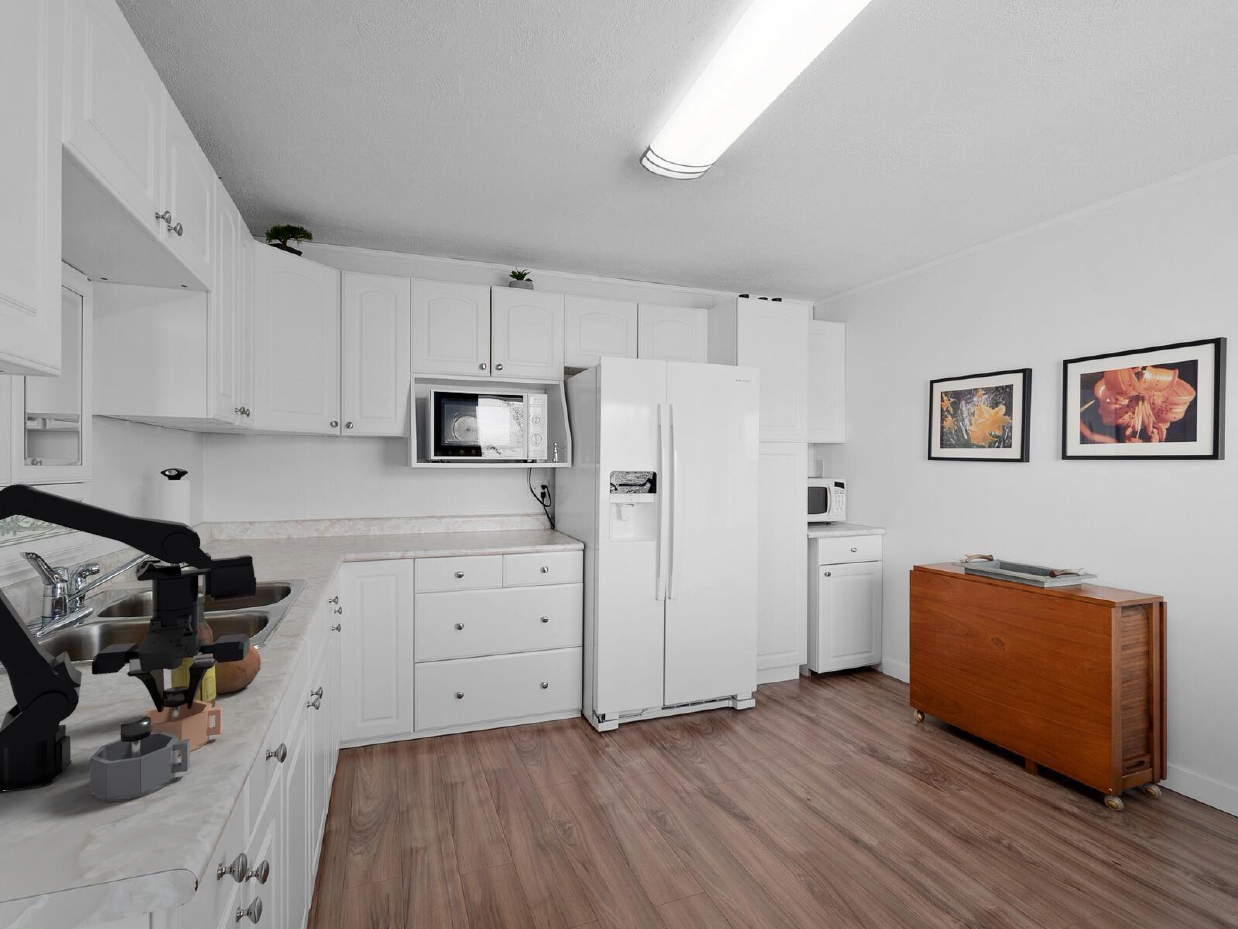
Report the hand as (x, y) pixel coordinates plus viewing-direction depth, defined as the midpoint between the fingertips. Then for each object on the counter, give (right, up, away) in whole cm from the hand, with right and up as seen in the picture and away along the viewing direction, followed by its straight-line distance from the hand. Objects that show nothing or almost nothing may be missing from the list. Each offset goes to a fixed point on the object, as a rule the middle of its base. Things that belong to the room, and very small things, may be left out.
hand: (175, 709), depth 94 cm
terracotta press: (0, -5, 0) cm, 5 cm away
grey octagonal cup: (+3, -5, -11) cm, 13 cm away
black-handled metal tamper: (0, -5, 0) cm, 4 cm away
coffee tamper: (+3, -5, -11) cm, 12 cm away
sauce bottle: (-6, -5, +13) cm, 15 cm away
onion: (-6, -5, +23) cm, 24 cm away
